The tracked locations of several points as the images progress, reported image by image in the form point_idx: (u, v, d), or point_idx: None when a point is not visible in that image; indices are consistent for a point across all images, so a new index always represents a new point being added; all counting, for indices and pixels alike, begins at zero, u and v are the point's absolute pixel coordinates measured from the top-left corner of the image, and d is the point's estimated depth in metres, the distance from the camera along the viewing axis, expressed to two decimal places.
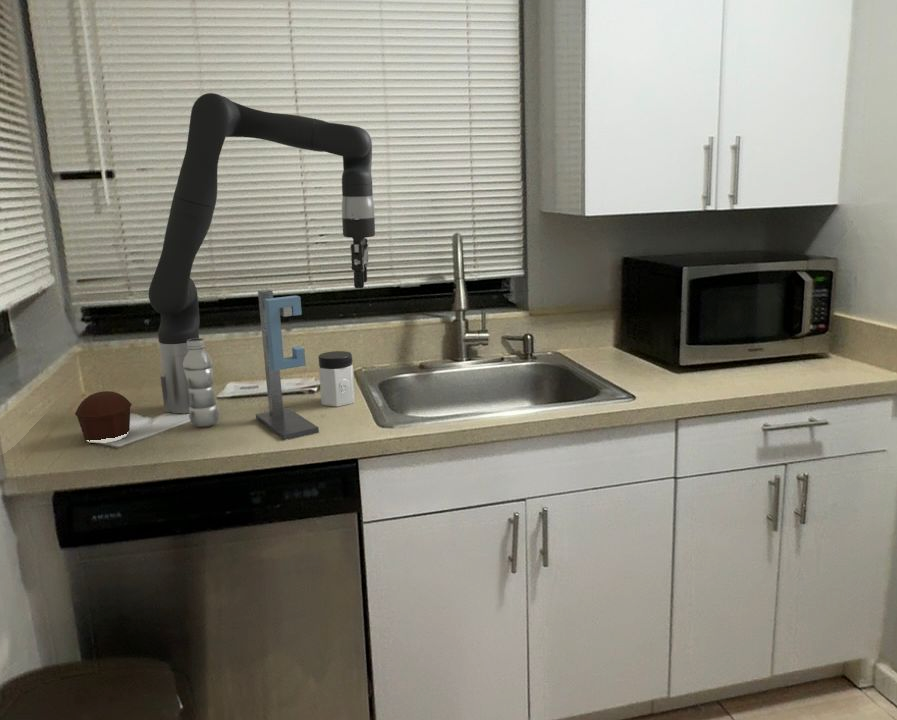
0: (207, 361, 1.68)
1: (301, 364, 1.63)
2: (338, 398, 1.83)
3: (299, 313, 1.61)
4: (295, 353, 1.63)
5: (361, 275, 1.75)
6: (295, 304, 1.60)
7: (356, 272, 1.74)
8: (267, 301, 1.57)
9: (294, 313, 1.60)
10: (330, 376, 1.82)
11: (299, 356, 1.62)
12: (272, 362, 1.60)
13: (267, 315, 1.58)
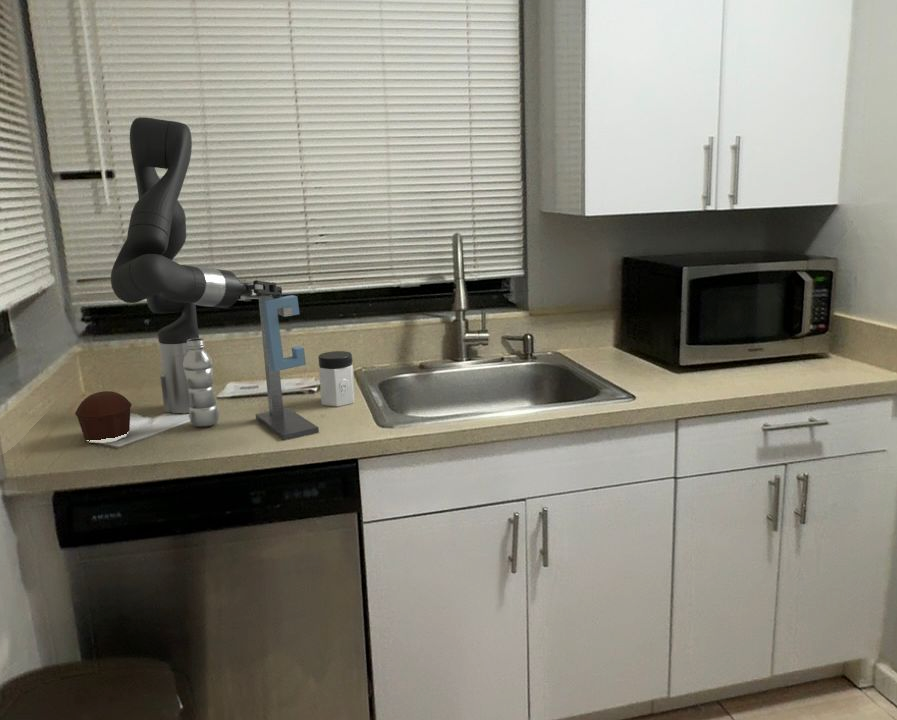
0: (207, 361, 1.68)
1: (301, 363, 1.63)
2: (338, 398, 1.83)
3: (297, 313, 1.60)
4: (295, 353, 1.62)
5: (237, 298, 1.62)
6: (292, 304, 1.59)
7: None
8: (264, 302, 1.57)
9: (292, 313, 1.60)
10: (330, 376, 1.82)
11: (299, 356, 1.62)
12: (272, 363, 1.60)
13: (265, 316, 1.58)
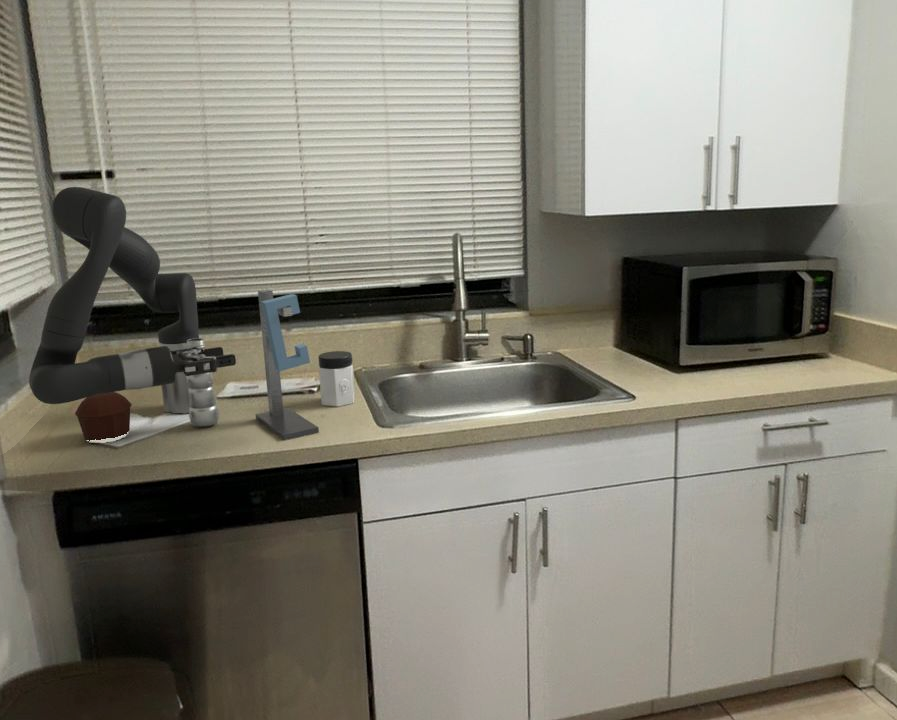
0: None
1: (305, 361, 1.63)
2: (338, 398, 1.83)
3: (297, 311, 1.60)
4: (298, 351, 1.63)
5: None
6: (292, 303, 1.59)
7: None
8: (264, 304, 1.57)
9: (292, 312, 1.60)
10: (330, 376, 1.82)
11: (302, 354, 1.63)
12: (276, 363, 1.61)
13: (266, 317, 1.58)
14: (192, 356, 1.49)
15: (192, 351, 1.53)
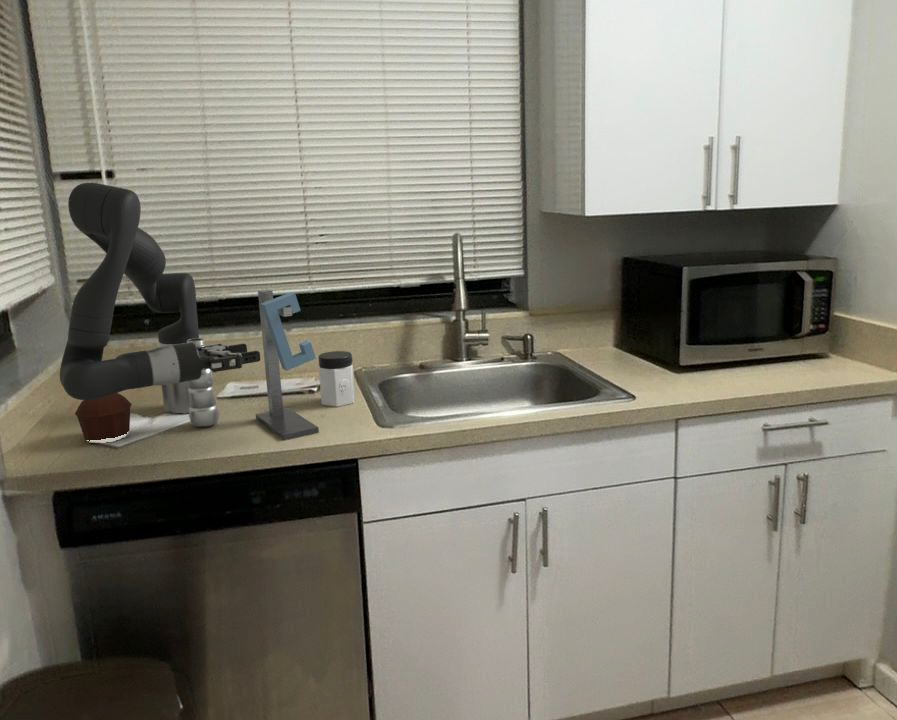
0: None
1: (311, 358, 1.64)
2: (338, 398, 1.83)
3: (298, 310, 1.60)
4: (303, 349, 1.63)
5: None
6: (292, 302, 1.59)
7: None
8: (264, 306, 1.57)
9: (293, 311, 1.60)
10: (330, 376, 1.82)
11: (307, 351, 1.63)
12: (282, 363, 1.61)
13: (267, 318, 1.58)
14: (218, 352, 1.51)
15: (217, 348, 1.56)
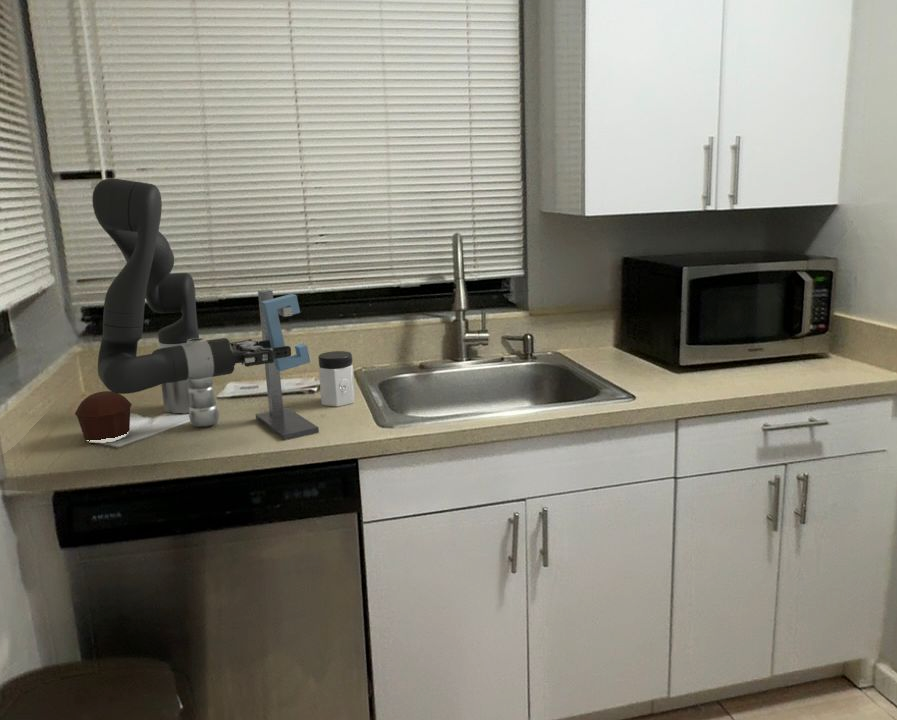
0: None
1: (306, 361, 1.63)
2: (338, 398, 1.83)
3: (297, 311, 1.60)
4: (298, 351, 1.63)
5: None
6: (292, 303, 1.59)
7: None
8: (264, 304, 1.57)
9: (292, 312, 1.60)
10: (330, 376, 1.82)
11: (303, 354, 1.63)
12: (277, 363, 1.61)
13: (266, 317, 1.58)
14: (250, 347, 1.55)
15: (248, 343, 1.60)
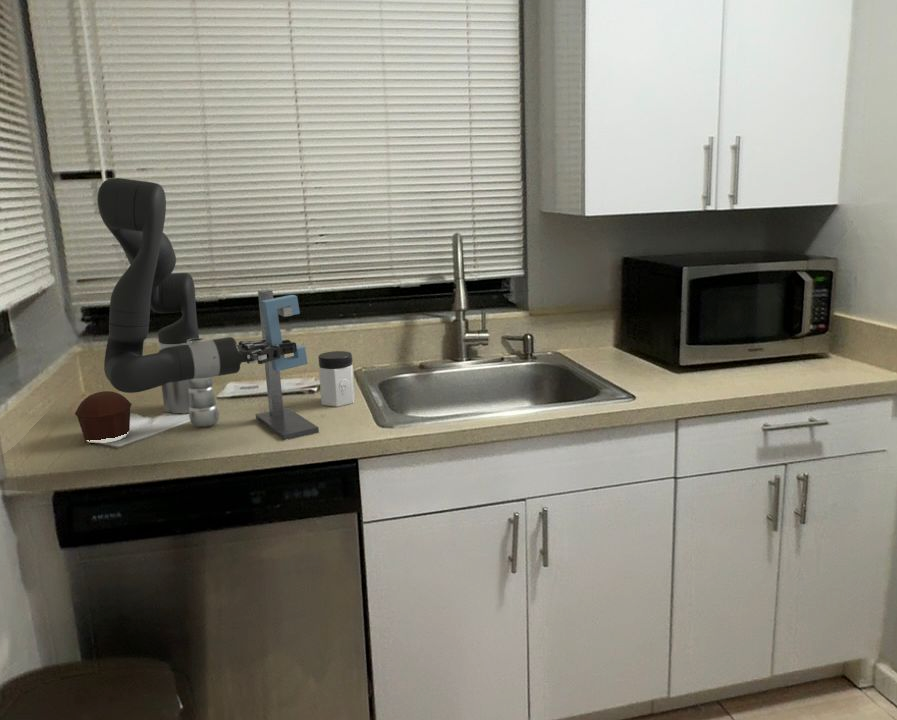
0: None
1: (303, 363, 1.63)
2: (338, 398, 1.83)
3: (297, 312, 1.60)
4: (296, 352, 1.63)
5: None
6: (292, 304, 1.59)
7: None
8: (264, 303, 1.57)
9: (292, 313, 1.60)
10: (330, 376, 1.82)
11: (300, 355, 1.62)
12: (274, 363, 1.60)
13: (266, 316, 1.58)
14: (257, 346, 1.56)
15: (257, 343, 1.59)
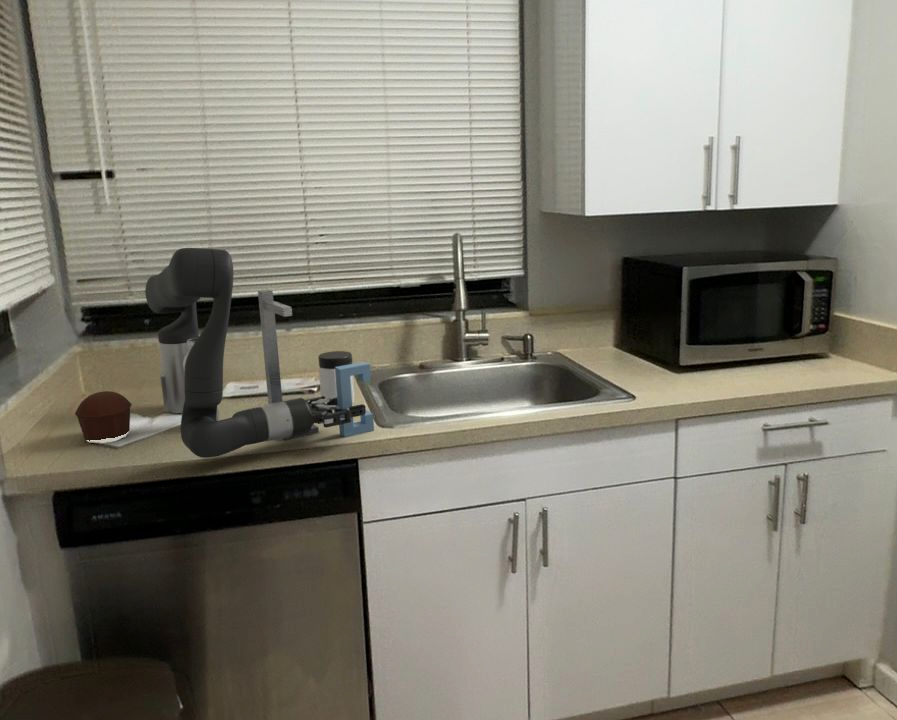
0: None
1: (370, 429, 1.65)
2: None
3: (368, 380, 1.62)
4: (364, 418, 1.64)
5: None
6: (365, 371, 1.61)
7: None
8: (338, 370, 1.59)
9: (364, 380, 1.62)
10: (330, 376, 1.82)
11: (368, 421, 1.64)
12: (342, 428, 1.62)
13: (338, 383, 1.60)
14: (327, 407, 1.57)
15: (323, 401, 1.61)
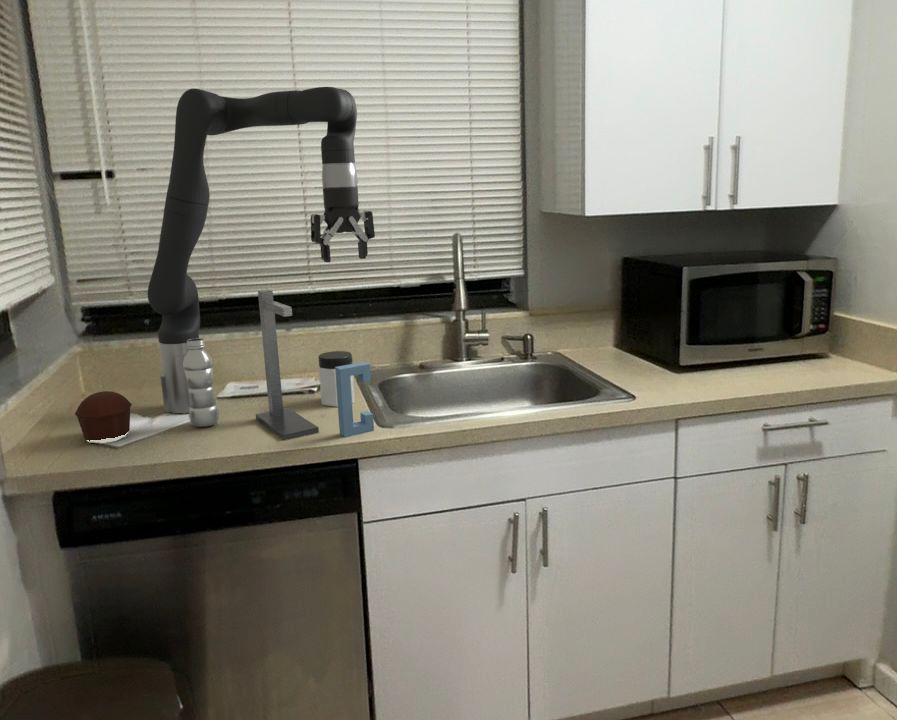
0: (207, 361, 1.68)
1: (370, 429, 1.65)
2: None
3: (368, 380, 1.62)
4: (364, 418, 1.64)
5: (324, 248, 1.64)
6: (365, 371, 1.62)
7: (320, 245, 1.64)
8: (338, 369, 1.59)
9: (364, 380, 1.62)
10: (330, 376, 1.82)
11: (368, 421, 1.64)
12: (342, 428, 1.62)
13: (338, 383, 1.60)
14: None
15: None
